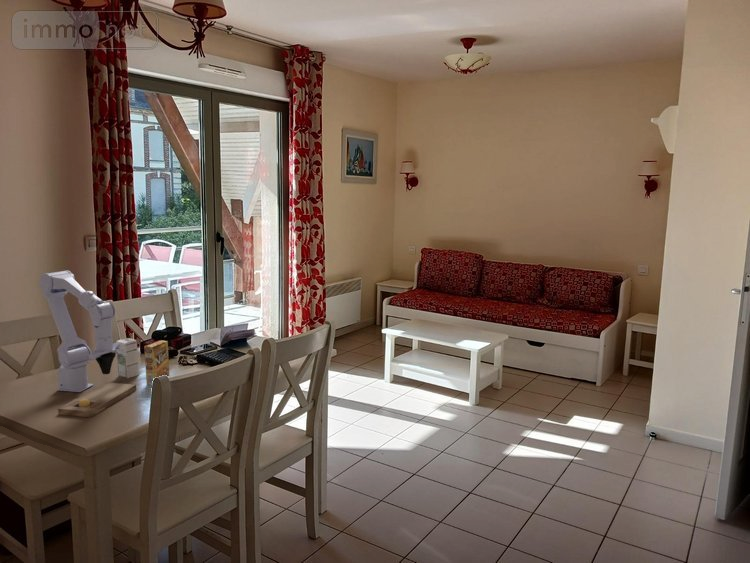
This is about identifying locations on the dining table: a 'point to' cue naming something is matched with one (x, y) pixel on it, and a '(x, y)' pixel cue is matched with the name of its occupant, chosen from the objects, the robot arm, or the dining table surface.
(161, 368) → the candy box
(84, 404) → the ball
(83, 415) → the hole board
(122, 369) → the syrup box
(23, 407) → the dining table surface
